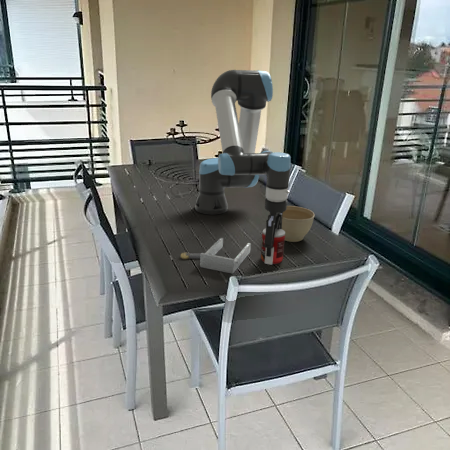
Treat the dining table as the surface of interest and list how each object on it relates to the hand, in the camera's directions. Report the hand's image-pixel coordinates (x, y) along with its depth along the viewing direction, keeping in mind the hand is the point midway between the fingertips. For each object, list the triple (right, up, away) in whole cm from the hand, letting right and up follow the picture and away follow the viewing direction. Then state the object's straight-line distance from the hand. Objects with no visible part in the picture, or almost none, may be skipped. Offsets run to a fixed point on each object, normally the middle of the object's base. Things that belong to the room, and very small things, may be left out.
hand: (271, 258), depth 162 cm
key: (-28, +1, 0) cm, 28 cm away
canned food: (0, 0, 0) cm, 0 cm away
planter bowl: (+10, +7, +20) cm, 23 cm away
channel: (-16, 0, 0) cm, 16 cm away
